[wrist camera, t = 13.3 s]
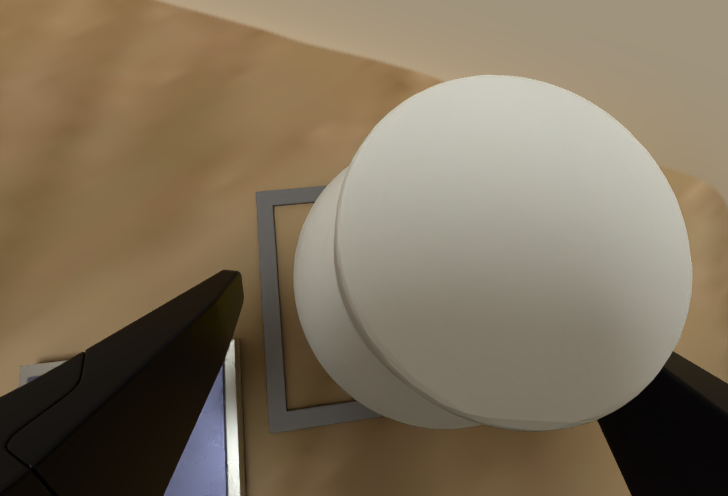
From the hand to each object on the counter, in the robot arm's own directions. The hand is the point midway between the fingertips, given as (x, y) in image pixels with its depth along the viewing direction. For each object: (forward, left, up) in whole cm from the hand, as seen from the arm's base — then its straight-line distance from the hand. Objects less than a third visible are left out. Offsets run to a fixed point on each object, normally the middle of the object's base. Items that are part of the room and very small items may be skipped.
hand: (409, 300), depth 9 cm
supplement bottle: (0, 0, -8) cm, 8 cm away
